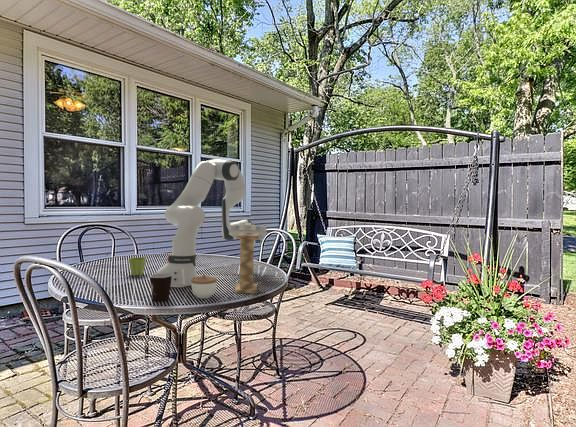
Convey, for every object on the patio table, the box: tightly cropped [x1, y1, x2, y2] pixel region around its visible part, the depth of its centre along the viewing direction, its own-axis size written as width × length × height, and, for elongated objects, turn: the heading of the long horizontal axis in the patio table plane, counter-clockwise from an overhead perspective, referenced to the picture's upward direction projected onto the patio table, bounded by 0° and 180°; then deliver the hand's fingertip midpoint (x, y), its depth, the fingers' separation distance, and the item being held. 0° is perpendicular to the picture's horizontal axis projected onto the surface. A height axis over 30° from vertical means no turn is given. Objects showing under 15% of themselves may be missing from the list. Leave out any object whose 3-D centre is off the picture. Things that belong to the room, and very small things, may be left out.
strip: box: [239, 223, 257, 230], centre depth 186 cm, size 8×20×2 cm, turn 6°
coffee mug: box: [149, 273, 172, 303], centre depth 151 cm, size 12×9×10 cm
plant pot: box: [127, 257, 148, 276], centre depth 197 cm, size 9×9×9 cm
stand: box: [234, 233, 258, 294], centre depth 169 cm, size 10×12×26 cm
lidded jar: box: [190, 274, 218, 299], centre depth 156 cm, size 11×11×9 cm
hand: (247, 224), depth 192 cm, fingers closed on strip, 3 cm apart
